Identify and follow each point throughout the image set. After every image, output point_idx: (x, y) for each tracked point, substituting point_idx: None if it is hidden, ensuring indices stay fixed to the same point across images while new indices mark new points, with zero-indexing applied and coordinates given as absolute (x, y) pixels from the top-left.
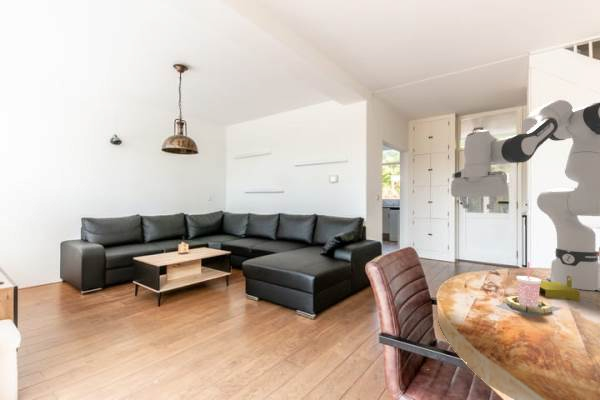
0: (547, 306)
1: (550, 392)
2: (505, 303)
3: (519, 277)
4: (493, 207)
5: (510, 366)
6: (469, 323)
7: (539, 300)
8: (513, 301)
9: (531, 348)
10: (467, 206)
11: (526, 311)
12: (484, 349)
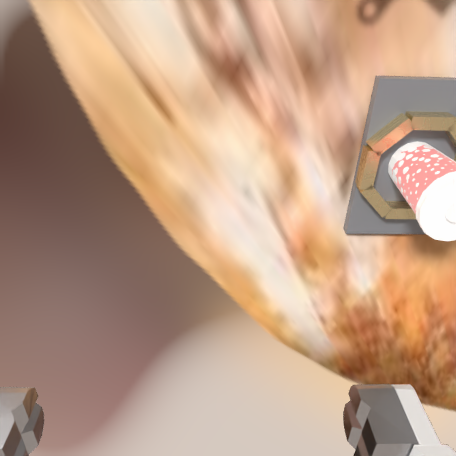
0: None
1: None
2: (356, 194)
3: (429, 217)
4: (418, 399)
5: (440, 396)
6: (342, 341)
7: (442, 123)
8: (386, 206)
9: (453, 338)
10: (26, 428)
11: None
12: None
